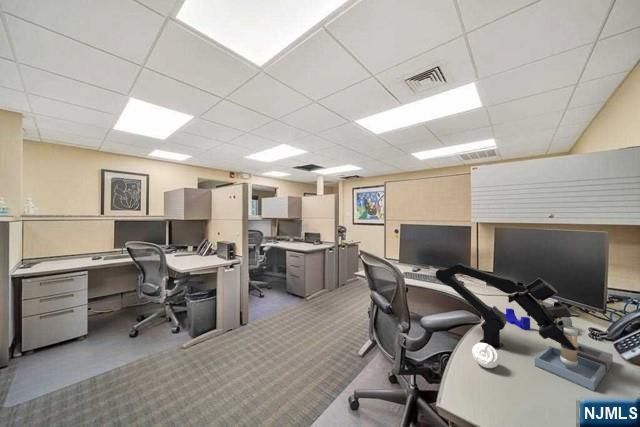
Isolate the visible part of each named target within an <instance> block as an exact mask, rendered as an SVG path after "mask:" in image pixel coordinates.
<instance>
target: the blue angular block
mask: <svg viewBox="0 0 640 427" xmlns="http://www.w3.org/2000/svg"><path fill="white" fill-rule="evenodd" d="M503 315H504V316H505V317H506V319H507V323H509V324H511V325H514V326H517V327H518V328H520V330H521V329H522V331H531V317H529V316H521V317H520V320H519V319H518V318H517V316H516V313H515V309H513V308H507V307H506V308H505V313H504V314H503Z"/></svg>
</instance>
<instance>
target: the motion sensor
mask: <svg viewBox="0 0 640 427" xmlns="http://www.w3.org/2000/svg"><path fill="white" fill-rule="evenodd" d="M471 351H472V356H473V359H474V360H475V361H476V363H477V364H479V365H480V366H481V367H484V368H485V369H494V368H497V366H498V365H499V362H500V361H499V360H500V356H499V353H498V351H497V349H495V348H493V347H492V346H491V345H488V344H487V343H481V342H478V343H476V344H475V345H473V347H472V350H471Z"/></svg>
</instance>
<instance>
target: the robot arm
mask: <svg viewBox="0 0 640 427" xmlns="http://www.w3.org/2000/svg"><path fill="white" fill-rule="evenodd" d="M458 274H463V275H465V276H468V277H471V278H473V279H477V280H479V281H482V282H484V283H487V284H489V285H490V286H493V287H494V288H496V289H498V290H500V291H501V292H503V293H504V294H508V295H507V298H508V303H512V302H515V303H517V305H518V306H519V307H520V308H521V309H523V311H525V312H526V316H527V317H528V318H532V319H533V320H534V321H535V322H536V323H537V324H536V325H537V326H538V327H539V328H538V335H539V336H540V337H541V338H542V339H543V340H547V339H551V340H552V341H554V342H556V343H559V344H560V345H561V344H562V345H564V346H566V347H568V348H570V349H572V350H575V349H576V348H575V347H574V345H573V344H572V343H571V342H570V340H569V339H568V338H567V337H566V336H565V335H564V333H563V327H562V328H561V327H560V325H563V320H561V321H559V322H558V321H557V320H556V319H557V318H559V319H561V318H562V317H566V318H569V317H570V318H571V317H573V316H572V312H571V310H570V309H569V308H568V306H567V305H566V304H562V303H561V302H560V301H554V302H553V305H551V306H546V304H542V303H539V302H538V301H542V302H544V301H546V300H548V299H549V298H551V297H554V296H555V295H558V294H559V292H558V290H557V289H555V287H554V286H553V285H551V284H550V283H549V282H546V281H545V280H544V279H542V278H541V277H537V278H536V279H535V280H534V281H533V282H531V283H529V284H528V283H525V282H522V281H521V282H520V281H517V279H516V278H514V277H510V276H505V275H498V274H493V273H489V272H486V271H484V270H481V269H478V268H476V267H472V266H469V265H466V264H464V263H462V262H459V263H457V264H454V265H453V266H450V267H449V268H448V267H443V268H440V269H438V270H436V271H435V278H436V280H438V281H439V282H440V283H442V284H444V285H445V286H447V287H450V288H451V289H453V290H454V292H456V293H458V295H459V296H460V297H462V299H464V300H465V301H466V302H467V303H468V304H469V305H470V306H472V307H473V308H474V309H475V311H477V312H478V313H479V314H480V315H481V317H482V319H483V320H484V321H483V322H482V323H481V325H480V327H481V329H482V332H483V333H482V334H483V336H482V339H480V340H479V343H487V344H488V345H491V346H492V347H493V348H494V349H495V350H498V349H499V348H501V347H503V346H504V345H505V344H504V343H502V342H501V334H500V333H501V332H500V331H502V330H504V329H505V326H507V323H508V322H507V319H506V317H505V316H504V315H503V314H505V313H504V312H502V311H501V310H500V309H499V308H497V306H496V305H493V306H489V305H488V304H486V303H485V302H483V301H482V300H481V298H479V297H478V296H477V295H476V294H475V293H473V291H471V290H470V289H469V288H467V287H466V286H465V285H464V284H463V283H461V282H460V281H459V279H458V278H457V276H456V275H458ZM555 320H556V321H555Z"/></svg>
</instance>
